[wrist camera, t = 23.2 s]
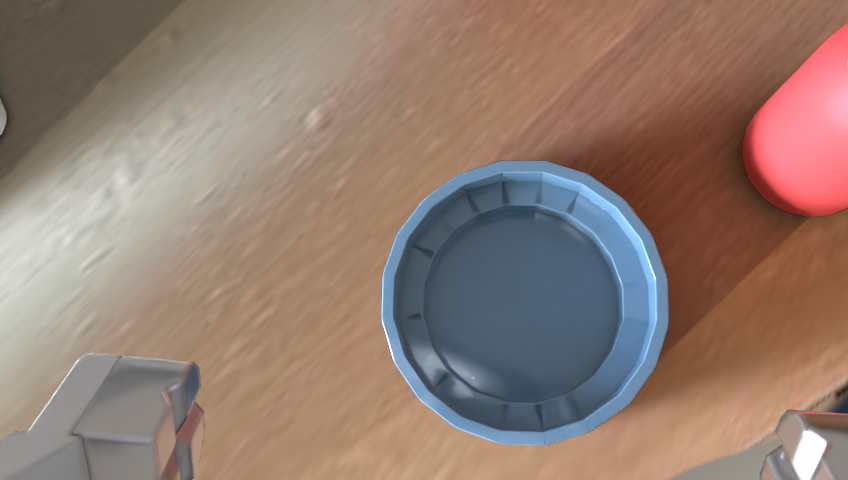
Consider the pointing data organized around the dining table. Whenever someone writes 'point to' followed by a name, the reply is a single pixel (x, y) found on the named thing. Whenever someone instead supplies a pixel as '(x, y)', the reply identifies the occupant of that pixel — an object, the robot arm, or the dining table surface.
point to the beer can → (804, 136)
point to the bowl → (525, 302)
